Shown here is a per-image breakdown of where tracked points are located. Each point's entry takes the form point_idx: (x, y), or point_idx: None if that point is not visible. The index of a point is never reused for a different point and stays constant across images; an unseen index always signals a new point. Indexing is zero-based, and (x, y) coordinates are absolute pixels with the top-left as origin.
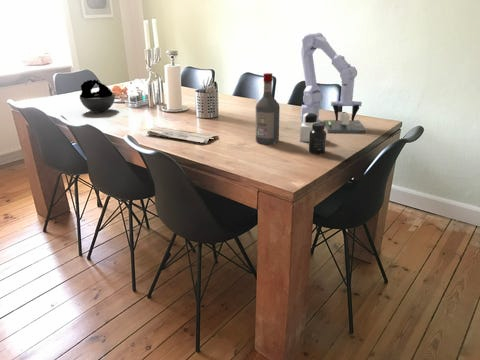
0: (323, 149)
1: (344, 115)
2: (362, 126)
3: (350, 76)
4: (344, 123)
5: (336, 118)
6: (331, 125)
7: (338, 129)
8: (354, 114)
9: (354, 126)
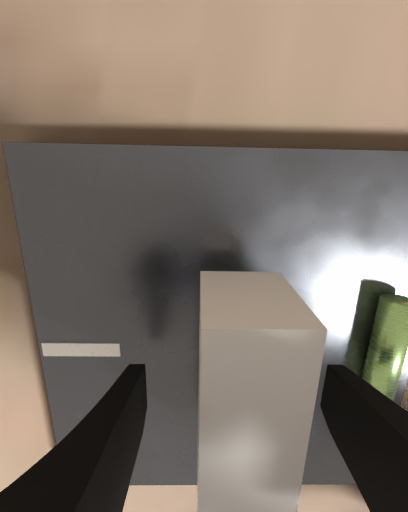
0: None
1: (285, 392)
2: (40, 297)
3: None
4: (260, 275)
5: (366, 383)
6: (386, 298)
7: (339, 171)
8: (90, 432)
9: (128, 297)
